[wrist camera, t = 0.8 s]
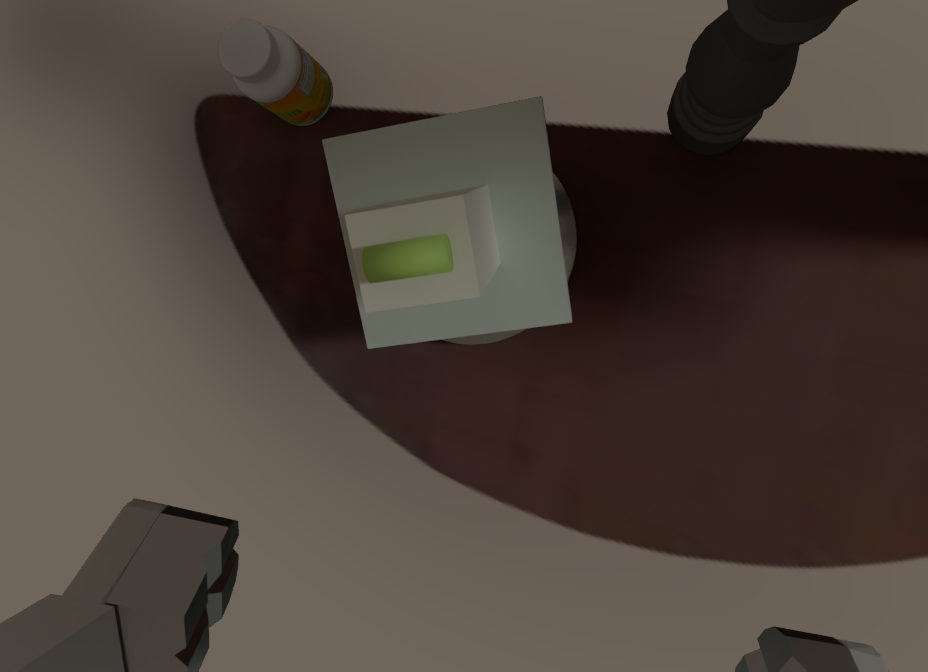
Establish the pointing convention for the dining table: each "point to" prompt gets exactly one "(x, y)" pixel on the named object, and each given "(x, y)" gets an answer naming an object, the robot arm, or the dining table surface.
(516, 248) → the white stepped fixture
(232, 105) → the dining table surface
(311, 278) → the dining table surface
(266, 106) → the supplement bottle
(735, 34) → the candle holder
